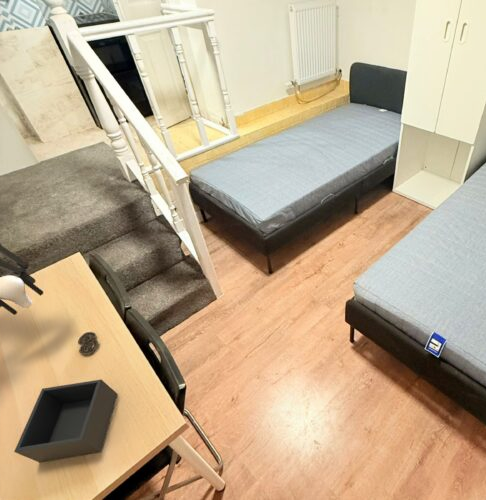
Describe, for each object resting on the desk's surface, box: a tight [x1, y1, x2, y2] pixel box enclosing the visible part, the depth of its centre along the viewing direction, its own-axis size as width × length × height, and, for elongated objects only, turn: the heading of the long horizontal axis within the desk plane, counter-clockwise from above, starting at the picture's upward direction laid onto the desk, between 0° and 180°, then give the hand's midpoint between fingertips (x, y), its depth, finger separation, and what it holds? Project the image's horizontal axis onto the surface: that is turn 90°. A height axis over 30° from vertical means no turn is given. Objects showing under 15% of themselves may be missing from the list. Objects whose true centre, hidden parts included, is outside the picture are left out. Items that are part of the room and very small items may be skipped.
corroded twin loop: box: [77, 331, 99, 355], centre depth 96 cm, size 5×8×1 cm, turn 35°
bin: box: [13, 378, 118, 463], centre depth 78 cm, size 13×13×9 cm
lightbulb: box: [0, 274, 33, 309], centre depth 86 cm, size 6×6×11 cm
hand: (28, 303), depth 86 cm, fingers closed on lightbulb, 6 cm apart
